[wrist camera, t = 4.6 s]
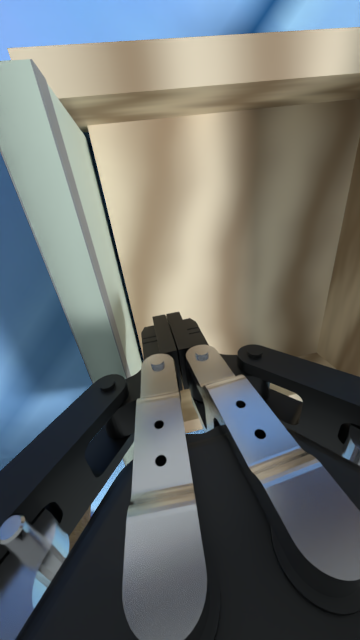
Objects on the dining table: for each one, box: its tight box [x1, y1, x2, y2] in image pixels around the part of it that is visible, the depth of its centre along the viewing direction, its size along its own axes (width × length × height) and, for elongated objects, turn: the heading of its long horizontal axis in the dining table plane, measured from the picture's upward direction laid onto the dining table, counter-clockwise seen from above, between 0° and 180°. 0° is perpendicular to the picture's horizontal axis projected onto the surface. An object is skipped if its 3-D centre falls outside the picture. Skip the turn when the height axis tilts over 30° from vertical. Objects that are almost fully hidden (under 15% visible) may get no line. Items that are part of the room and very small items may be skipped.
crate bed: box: [7, 27, 360, 433], centre depth 16 cm, size 22×24×12 cm
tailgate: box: [0, 59, 142, 466], centre depth 15 cm, size 2×20×10 cm, turn 7°
